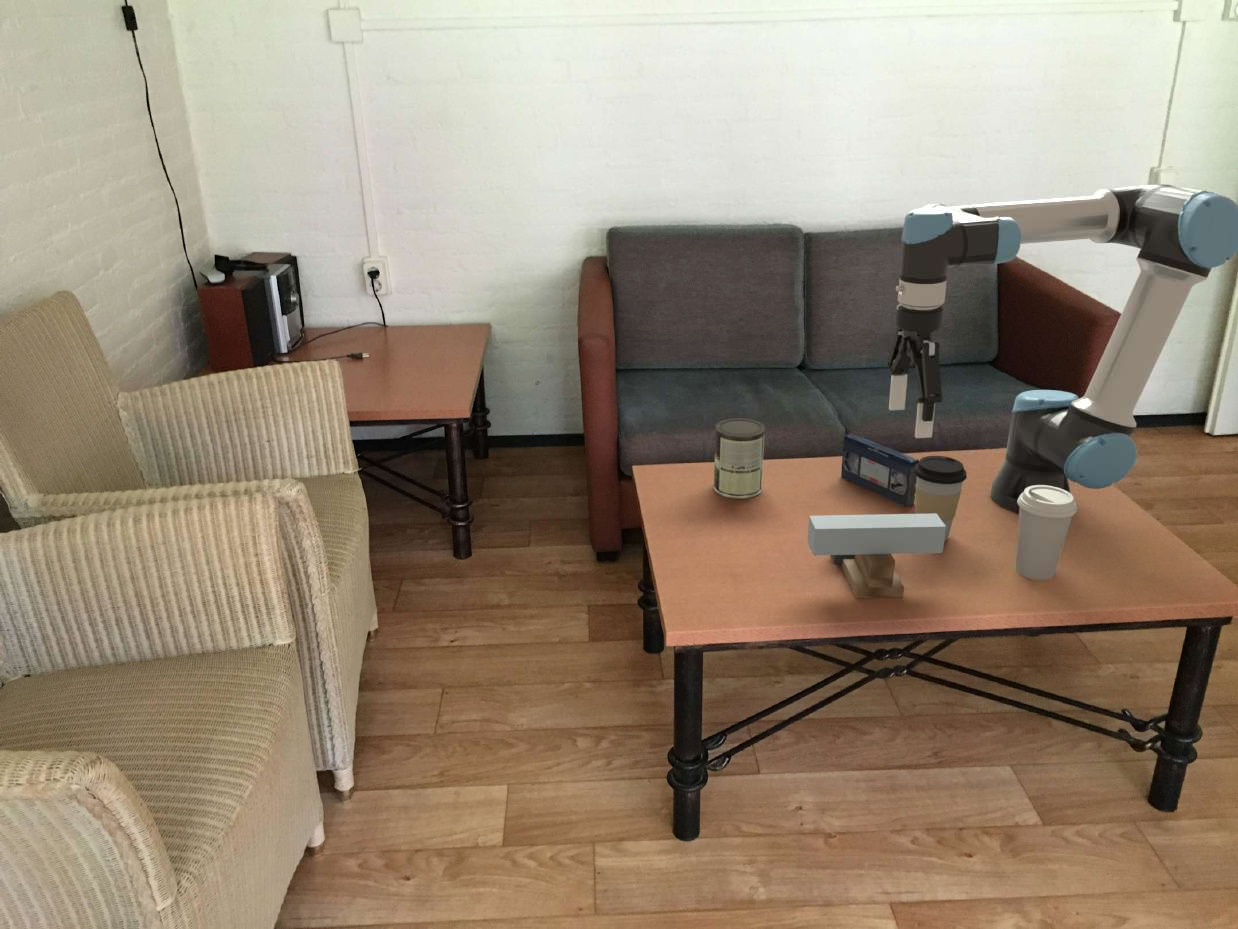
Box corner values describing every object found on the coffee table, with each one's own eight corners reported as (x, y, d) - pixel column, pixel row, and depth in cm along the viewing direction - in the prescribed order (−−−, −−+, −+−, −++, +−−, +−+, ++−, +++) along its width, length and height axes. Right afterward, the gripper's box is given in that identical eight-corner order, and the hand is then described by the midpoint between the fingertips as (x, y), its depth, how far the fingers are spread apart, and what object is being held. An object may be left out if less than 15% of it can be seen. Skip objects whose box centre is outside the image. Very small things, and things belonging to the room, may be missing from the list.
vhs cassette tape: (839, 477, 212) (843, 435, 208) (849, 474, 214) (853, 432, 210) (904, 508, 198) (910, 463, 194) (914, 504, 199) (920, 459, 196)
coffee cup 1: (960, 530, 189) (971, 458, 183) (954, 551, 181) (964, 477, 175) (910, 521, 192) (919, 450, 186) (901, 541, 185) (910, 468, 179)
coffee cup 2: (997, 558, 178) (1009, 483, 172) (1048, 557, 179) (1062, 482, 173) (1020, 585, 169) (1034, 507, 163) (1074, 583, 170) (1089, 505, 164)
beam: (933, 539, 170) (936, 513, 168) (942, 552, 166) (946, 526, 164) (807, 541, 170) (809, 515, 168) (813, 555, 165) (815, 529, 163)
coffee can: (703, 485, 209) (705, 424, 203) (741, 475, 214) (744, 414, 208) (733, 503, 201) (735, 439, 195) (772, 492, 206) (775, 429, 200)
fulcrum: (886, 568, 175) (890, 533, 173) (902, 597, 166) (907, 560, 163) (842, 569, 175) (845, 534, 172) (855, 598, 166) (859, 561, 163)
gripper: (874, 288, 175) (866, 399, 183) (925, 325, 152) (913, 451, 161) (916, 286, 175) (906, 397, 184) (972, 322, 152) (957, 448, 161)
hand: (909, 422), depth 172 cm, fingers open, 13 cm apart
